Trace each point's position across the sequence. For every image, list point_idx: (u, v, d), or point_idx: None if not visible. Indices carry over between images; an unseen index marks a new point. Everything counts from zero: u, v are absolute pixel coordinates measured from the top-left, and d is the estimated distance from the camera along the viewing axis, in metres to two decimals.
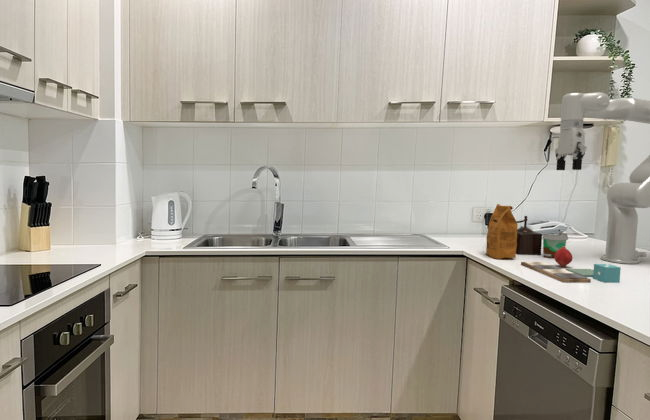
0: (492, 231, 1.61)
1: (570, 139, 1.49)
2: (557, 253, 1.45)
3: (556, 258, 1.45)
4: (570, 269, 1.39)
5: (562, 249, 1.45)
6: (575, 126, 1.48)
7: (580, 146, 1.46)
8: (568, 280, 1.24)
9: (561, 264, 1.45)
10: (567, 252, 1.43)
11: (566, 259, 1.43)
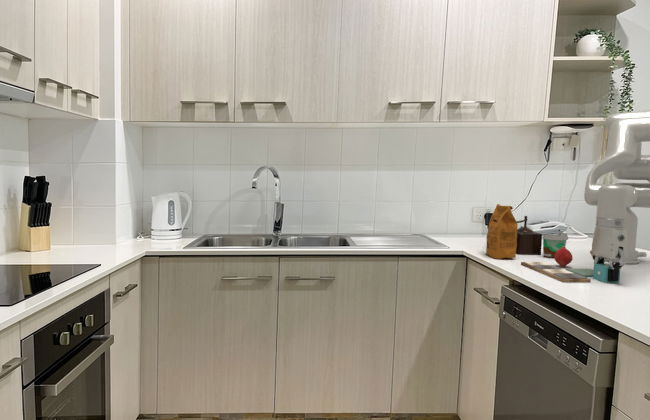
0: (492, 231, 1.61)
1: (609, 242, 1.23)
2: (557, 253, 1.45)
3: (556, 258, 1.45)
4: (570, 269, 1.39)
5: (562, 249, 1.45)
6: (616, 227, 1.22)
7: (620, 257, 1.20)
8: (568, 280, 1.24)
9: (561, 264, 1.45)
10: (567, 252, 1.43)
11: (566, 259, 1.43)
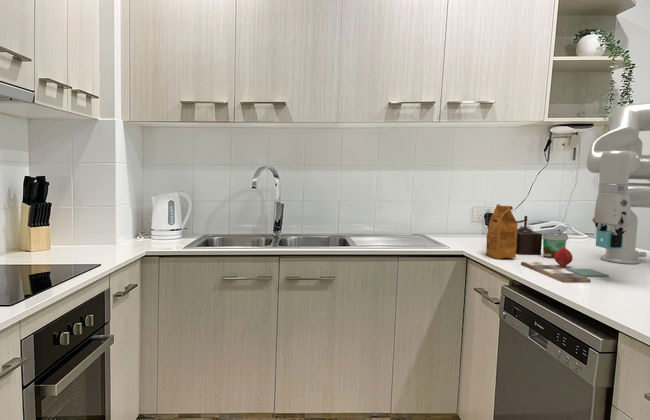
0: (492, 231, 1.61)
1: (612, 207, 1.22)
2: (557, 253, 1.45)
3: (556, 258, 1.45)
4: (570, 269, 1.39)
5: (562, 249, 1.45)
6: (619, 192, 1.21)
7: (623, 222, 1.20)
8: (568, 280, 1.24)
9: (561, 264, 1.45)
10: (567, 252, 1.43)
11: (566, 259, 1.43)
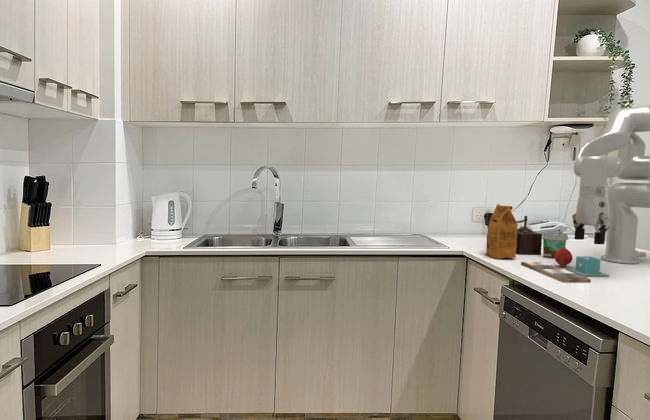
0: (492, 231, 1.61)
1: (591, 209, 1.31)
2: (557, 253, 1.45)
3: (556, 258, 1.45)
4: (570, 269, 1.39)
5: (562, 249, 1.45)
6: (597, 194, 1.30)
7: (603, 219, 1.28)
8: (568, 280, 1.24)
9: (561, 264, 1.45)
10: (567, 252, 1.43)
11: (566, 259, 1.43)
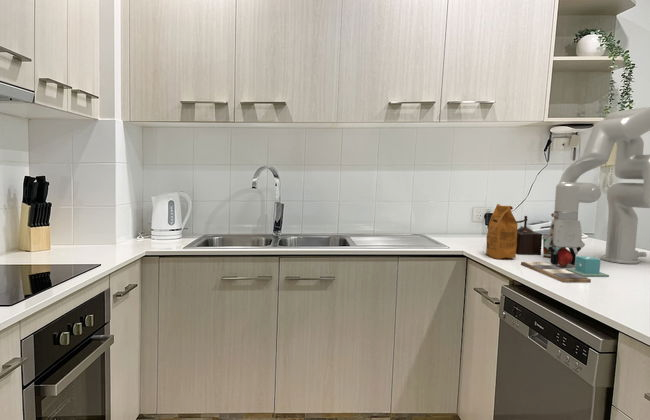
0: (492, 231, 1.61)
1: None
2: (557, 253, 1.45)
3: None
4: (570, 269, 1.39)
5: (562, 249, 1.45)
6: (554, 217, 1.45)
7: None
8: (568, 280, 1.24)
9: (561, 264, 1.45)
10: (567, 252, 1.43)
11: (566, 259, 1.43)
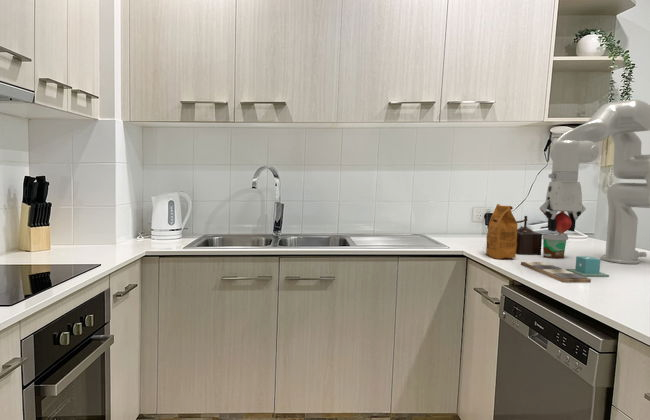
0: (492, 231, 1.61)
1: None
2: (555, 218, 1.32)
3: None
4: (570, 269, 1.39)
5: (560, 214, 1.31)
6: (551, 179, 1.32)
7: None
8: (568, 280, 1.24)
9: (559, 230, 1.31)
10: (566, 217, 1.30)
11: (564, 224, 1.29)
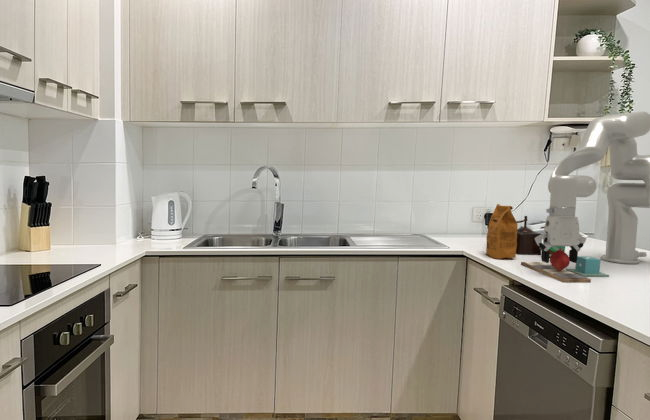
0: (492, 231, 1.61)
1: None
2: (553, 256, 1.33)
3: (552, 261, 1.33)
4: (570, 269, 1.39)
5: (558, 251, 1.33)
6: (549, 213, 1.33)
7: None
8: (568, 280, 1.24)
9: (557, 268, 1.33)
10: (564, 255, 1.31)
11: (562, 262, 1.31)
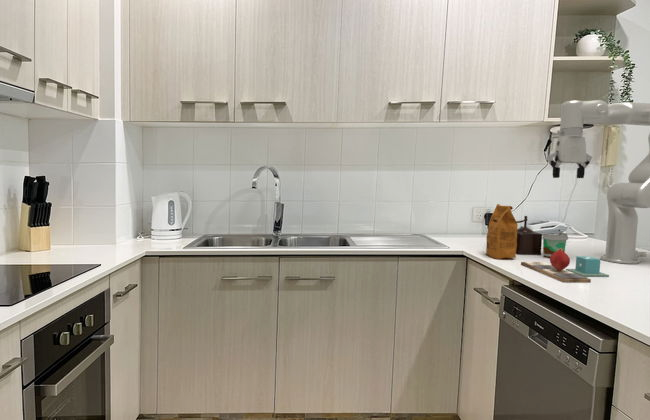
0: (492, 231, 1.61)
1: None
2: (553, 256, 1.33)
3: (552, 261, 1.33)
4: (570, 269, 1.39)
5: (558, 252, 1.32)
6: (560, 135, 1.52)
7: None
8: (568, 280, 1.24)
9: (557, 268, 1.33)
10: (564, 255, 1.31)
11: (562, 262, 1.31)
